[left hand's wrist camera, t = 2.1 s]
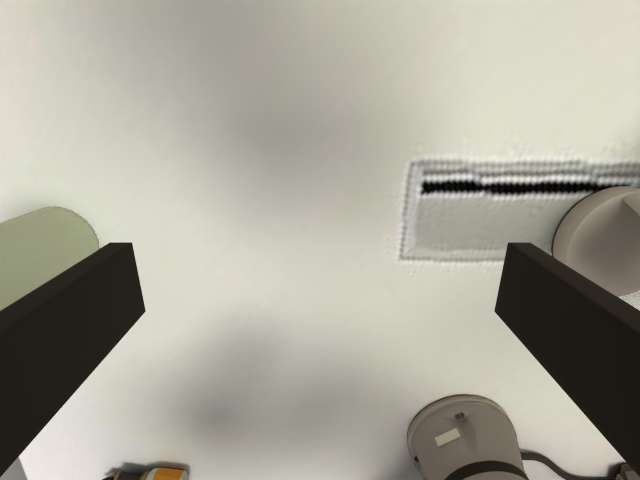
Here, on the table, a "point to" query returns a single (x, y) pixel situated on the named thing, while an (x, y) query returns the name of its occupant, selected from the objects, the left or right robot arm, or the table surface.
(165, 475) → the spray gun
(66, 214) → the jar
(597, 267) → the bust sculpture
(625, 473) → the toy
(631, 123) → the table surface
